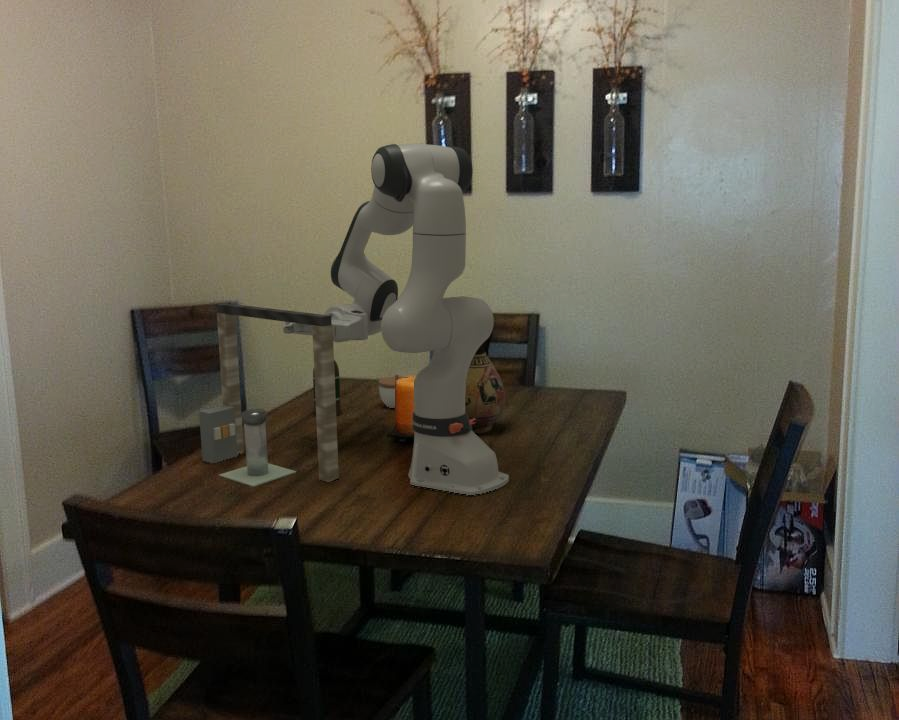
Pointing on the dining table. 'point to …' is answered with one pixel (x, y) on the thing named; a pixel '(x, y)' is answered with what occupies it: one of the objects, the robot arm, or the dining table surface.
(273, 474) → the sage mat
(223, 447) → the breaker box
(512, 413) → the dining table surface
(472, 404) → the ceramic jug
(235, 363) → the arch
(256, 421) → the frosted spice bottle
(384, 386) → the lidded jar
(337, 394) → the beer bottle
